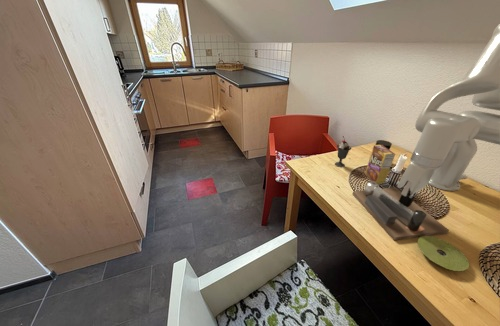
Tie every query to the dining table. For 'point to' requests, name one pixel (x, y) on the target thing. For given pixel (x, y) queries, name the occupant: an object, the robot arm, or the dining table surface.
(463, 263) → the green disc
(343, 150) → the sundae
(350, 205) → the dining table surface
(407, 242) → the dining table surface
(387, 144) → the supplement container
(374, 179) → the candy box
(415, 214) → the lever
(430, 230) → the nutcracker bench
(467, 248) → the dining table surface
